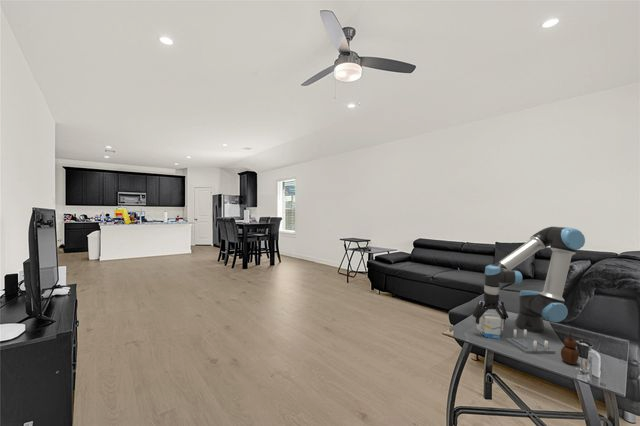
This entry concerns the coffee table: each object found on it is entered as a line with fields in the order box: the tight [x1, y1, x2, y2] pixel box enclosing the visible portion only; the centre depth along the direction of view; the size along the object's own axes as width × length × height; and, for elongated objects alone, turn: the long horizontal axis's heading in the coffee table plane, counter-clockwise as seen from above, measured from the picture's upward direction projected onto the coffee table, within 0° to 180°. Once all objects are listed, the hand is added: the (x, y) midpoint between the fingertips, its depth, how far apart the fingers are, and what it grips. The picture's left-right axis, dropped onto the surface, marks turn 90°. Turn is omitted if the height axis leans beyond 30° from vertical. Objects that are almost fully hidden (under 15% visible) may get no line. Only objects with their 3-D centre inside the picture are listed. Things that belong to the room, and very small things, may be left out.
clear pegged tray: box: [505, 328, 556, 354], centre depth 151 cm, size 16×15×6 cm
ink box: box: [479, 312, 502, 340], centre depth 164 cm, size 9×8×12 cm
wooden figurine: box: [560, 332, 580, 365], centre depth 136 cm, size 7×6×15 cm
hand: (489, 329), depth 164 cm, fingers open, 13 cm apart
